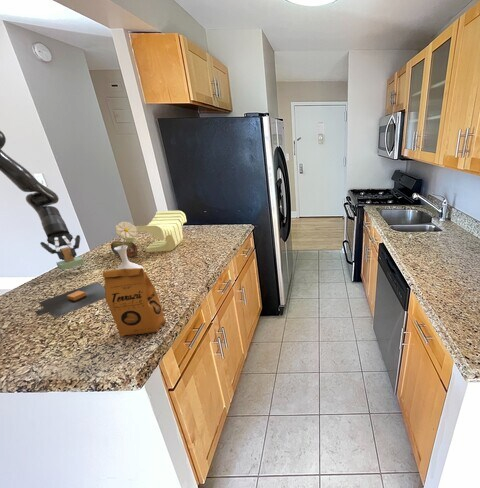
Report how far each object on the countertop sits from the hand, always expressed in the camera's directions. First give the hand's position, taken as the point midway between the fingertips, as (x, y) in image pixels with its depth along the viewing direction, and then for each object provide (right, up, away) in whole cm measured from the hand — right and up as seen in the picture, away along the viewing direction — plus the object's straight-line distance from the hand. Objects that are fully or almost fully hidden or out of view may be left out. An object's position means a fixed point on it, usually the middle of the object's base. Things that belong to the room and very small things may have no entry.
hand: (68, 257), depth 118 cm
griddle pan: (+21, -16, -17) cm, 31 cm away
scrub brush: (-2, -4, +3) cm, 5 cm away
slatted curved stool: (+24, +4, +34) cm, 41 cm away
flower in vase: (+27, -8, +3) cm, 28 cm away
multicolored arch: (+9, 0, +22) cm, 24 cm away
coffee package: (+57, -22, -32) cm, 68 cm away
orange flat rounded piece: (+20, -14, -17) cm, 30 cm away
